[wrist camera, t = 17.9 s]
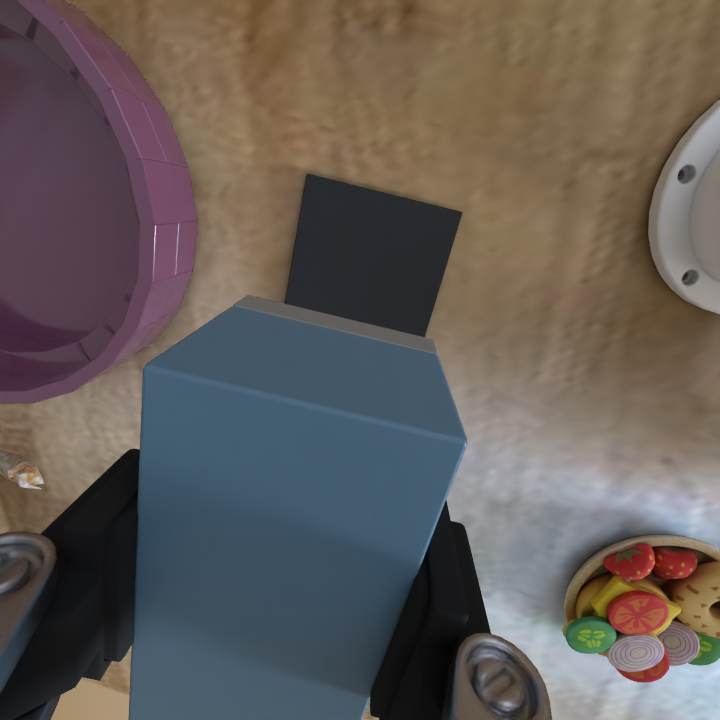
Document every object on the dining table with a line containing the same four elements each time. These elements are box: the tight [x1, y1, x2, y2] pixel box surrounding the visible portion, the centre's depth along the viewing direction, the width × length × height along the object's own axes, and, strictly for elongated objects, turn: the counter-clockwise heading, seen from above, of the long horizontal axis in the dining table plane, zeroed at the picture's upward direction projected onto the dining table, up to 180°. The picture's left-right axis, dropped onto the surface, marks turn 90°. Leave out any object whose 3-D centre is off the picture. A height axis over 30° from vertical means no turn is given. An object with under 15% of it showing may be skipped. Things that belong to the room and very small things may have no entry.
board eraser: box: [129, 295, 467, 720], centre depth 9 cm, size 8×4×4 cm, turn 167°
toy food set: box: [562, 535, 720, 683], centre depth 31 cm, size 13×13×3 cm
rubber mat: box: [285, 174, 462, 337], centre depth 26 cm, size 14×9×1 cm, turn 167°
